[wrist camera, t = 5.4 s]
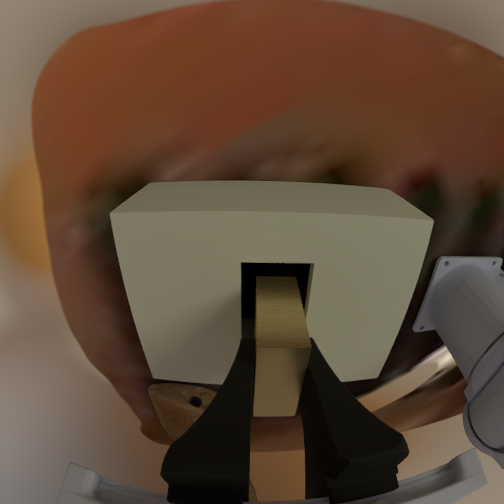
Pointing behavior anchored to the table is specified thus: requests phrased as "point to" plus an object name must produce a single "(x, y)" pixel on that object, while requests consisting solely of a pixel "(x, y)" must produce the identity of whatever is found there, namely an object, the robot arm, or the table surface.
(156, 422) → the table surface
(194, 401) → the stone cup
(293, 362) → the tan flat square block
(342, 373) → the box
